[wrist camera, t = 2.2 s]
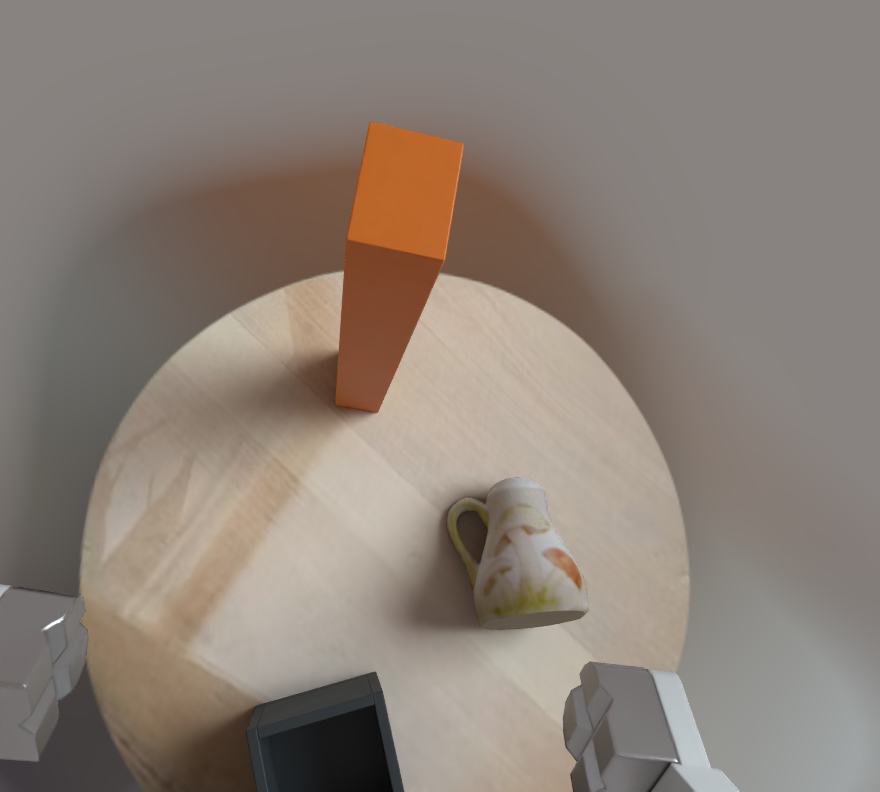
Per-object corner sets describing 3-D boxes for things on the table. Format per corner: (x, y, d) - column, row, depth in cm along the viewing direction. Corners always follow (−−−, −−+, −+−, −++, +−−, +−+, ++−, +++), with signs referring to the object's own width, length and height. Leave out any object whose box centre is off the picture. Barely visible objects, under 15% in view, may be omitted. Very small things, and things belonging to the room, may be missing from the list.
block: (334, 404, 48) (345, 239, 20) (345, 349, 48) (369, 120, 21) (377, 412, 48) (444, 260, 21) (387, 357, 49) (464, 142, 22)
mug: (549, 465, 49) (633, 530, 40) (520, 585, 52) (593, 672, 43) (454, 460, 46) (522, 529, 38) (428, 588, 49) (486, 682, 40)
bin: (280, 835, 42) (273, 880, 37) (255, 705, 43) (245, 731, 38) (402, 795, 44) (413, 833, 38) (375, 671, 45) (382, 690, 39)
